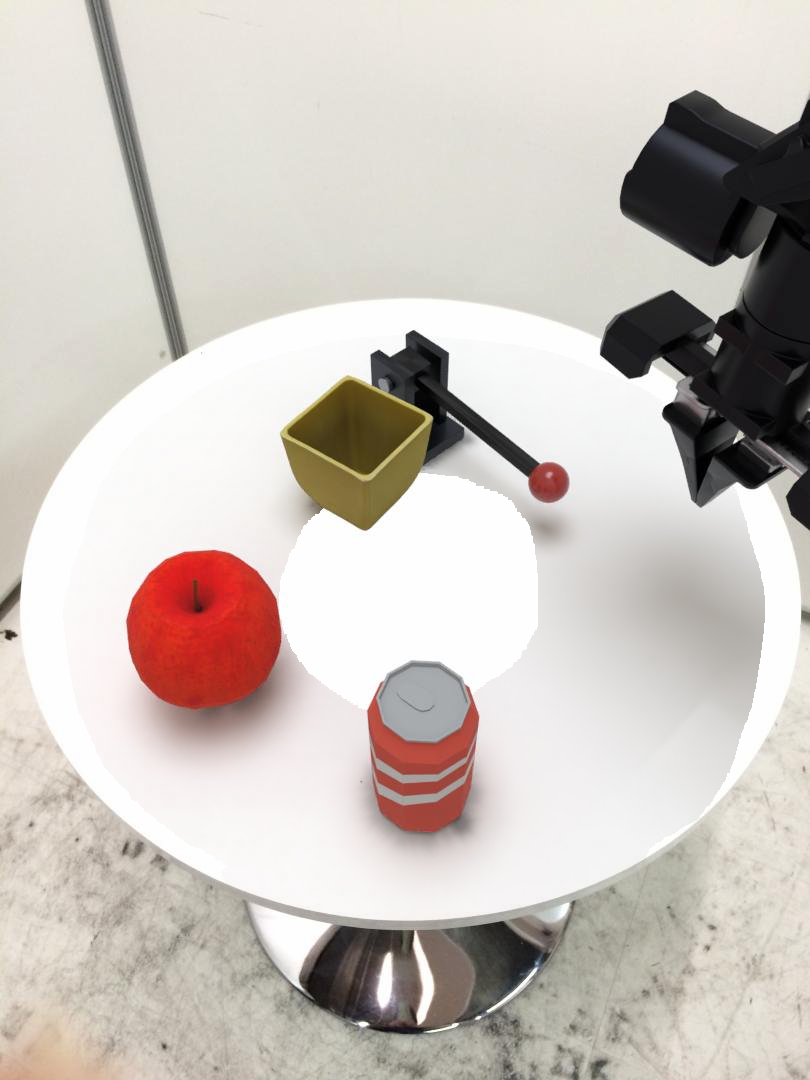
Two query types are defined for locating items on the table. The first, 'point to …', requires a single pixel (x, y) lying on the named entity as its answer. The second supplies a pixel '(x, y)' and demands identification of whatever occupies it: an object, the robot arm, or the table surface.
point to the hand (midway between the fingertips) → (700, 501)
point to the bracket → (401, 385)
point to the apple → (203, 629)
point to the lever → (487, 431)
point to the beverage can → (422, 745)
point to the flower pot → (357, 450)
